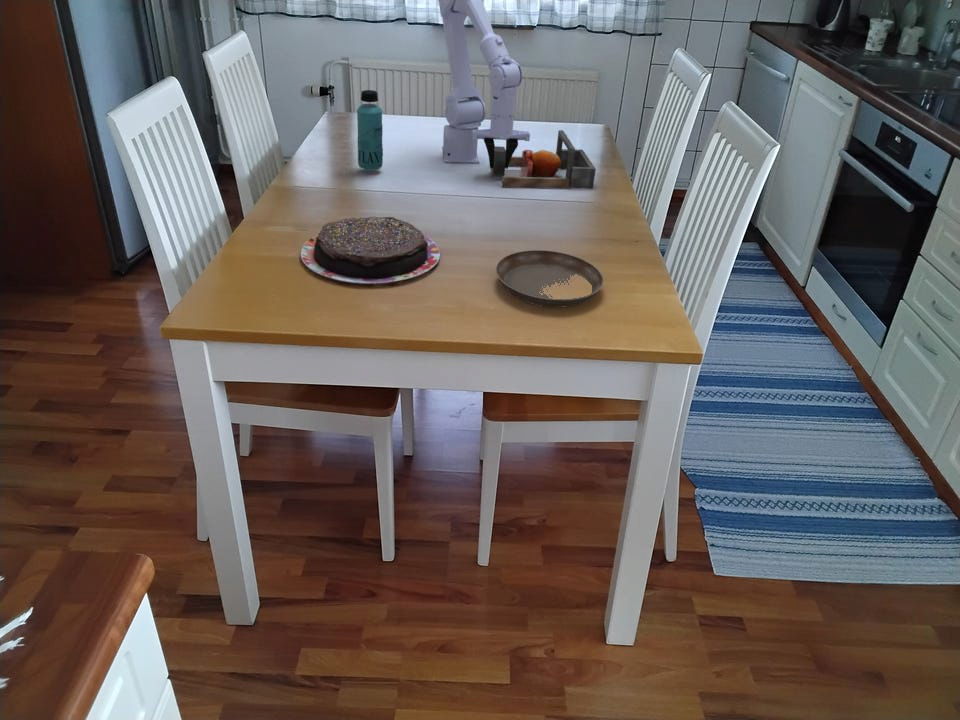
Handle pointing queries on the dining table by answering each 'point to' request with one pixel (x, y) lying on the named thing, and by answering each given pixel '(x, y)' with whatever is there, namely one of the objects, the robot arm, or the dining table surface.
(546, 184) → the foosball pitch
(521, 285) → the plant saucer
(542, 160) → the fruit
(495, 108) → the robot arm
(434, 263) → the chocolate cake
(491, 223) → the dining table surface
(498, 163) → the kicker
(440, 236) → the dining table surface
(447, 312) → the dining table surface
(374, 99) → the beverage bottle
